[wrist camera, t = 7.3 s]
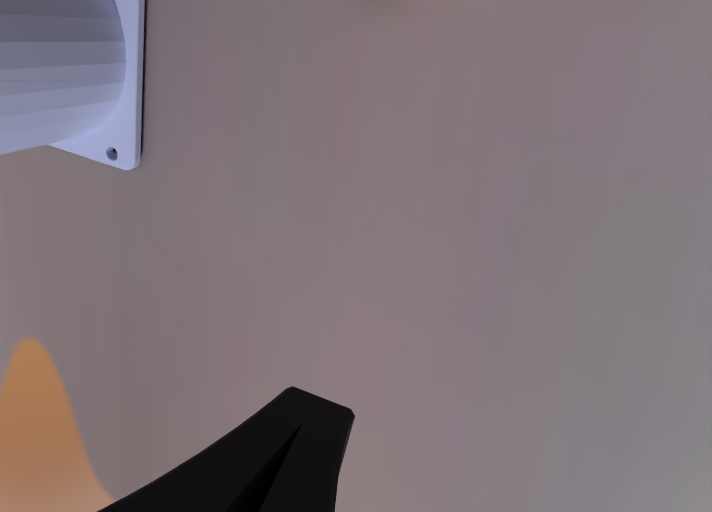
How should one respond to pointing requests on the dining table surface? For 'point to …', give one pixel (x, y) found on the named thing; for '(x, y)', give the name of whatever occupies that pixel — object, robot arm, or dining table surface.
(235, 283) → the dining table surface
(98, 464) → the dining table surface
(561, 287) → the dining table surface
